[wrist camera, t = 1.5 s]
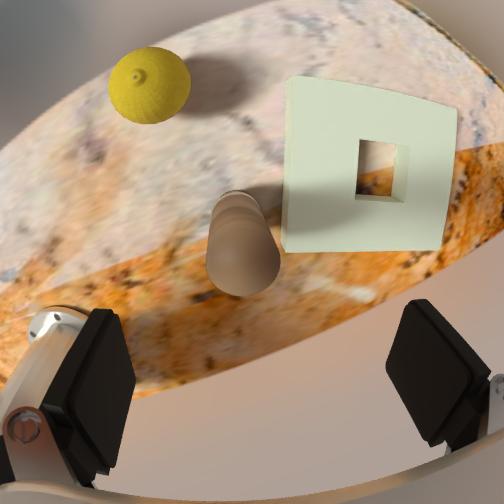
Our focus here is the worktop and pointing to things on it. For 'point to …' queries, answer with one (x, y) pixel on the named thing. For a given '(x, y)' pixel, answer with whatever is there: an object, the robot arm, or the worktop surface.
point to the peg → (240, 246)
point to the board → (346, 164)
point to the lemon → (149, 85)
